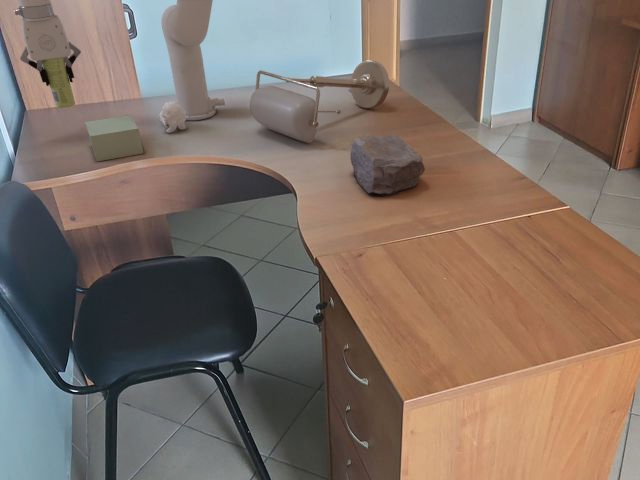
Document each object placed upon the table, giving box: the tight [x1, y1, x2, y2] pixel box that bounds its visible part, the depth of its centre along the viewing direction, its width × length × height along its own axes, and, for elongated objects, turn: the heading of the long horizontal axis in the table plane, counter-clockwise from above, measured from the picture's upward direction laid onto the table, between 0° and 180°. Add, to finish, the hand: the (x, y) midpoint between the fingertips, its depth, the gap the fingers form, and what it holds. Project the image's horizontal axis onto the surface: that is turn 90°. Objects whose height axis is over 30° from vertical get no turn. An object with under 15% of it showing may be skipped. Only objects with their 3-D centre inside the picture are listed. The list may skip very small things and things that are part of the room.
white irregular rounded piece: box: [159, 100, 187, 134], centre depth 173 cm, size 6×8×12 cm
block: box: [85, 114, 145, 162], centre depth 160 cm, size 12×12×7 cm
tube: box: [42, 58, 76, 109], centre depth 160 cm, size 6×5×20 cm
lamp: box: [249, 59, 390, 144], centre depth 174 cm, size 27×23×40 cm
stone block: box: [349, 134, 426, 197], centre depth 141 cm, size 17×12×15 cm
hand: (59, 82), depth 161 cm, fingers closed on tube, 5 cm apart
